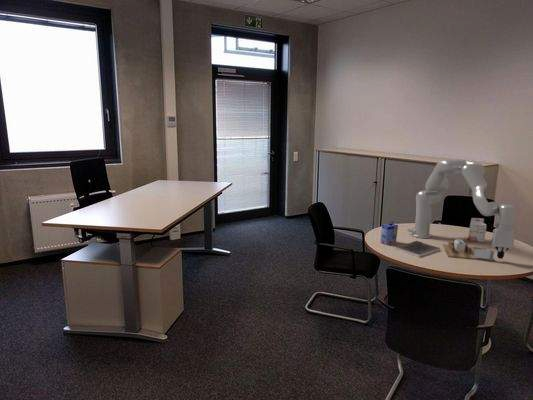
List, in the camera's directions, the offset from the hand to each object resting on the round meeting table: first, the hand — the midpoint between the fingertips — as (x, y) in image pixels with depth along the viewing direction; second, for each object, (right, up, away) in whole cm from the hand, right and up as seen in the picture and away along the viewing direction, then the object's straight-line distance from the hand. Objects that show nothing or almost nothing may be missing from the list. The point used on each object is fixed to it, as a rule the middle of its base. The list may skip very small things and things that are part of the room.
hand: (500, 258), depth 221 cm
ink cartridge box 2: (+7, +6, +38) cm, 39 cm away
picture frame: (-39, +1, +19) cm, 44 cm away
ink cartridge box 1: (-53, +5, +32) cm, 62 cm away
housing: (-12, +1, +14) cm, 18 cm away
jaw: (-15, +2, +17) cm, 23 cm away
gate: (-8, -1, +2) cm, 9 cm away
